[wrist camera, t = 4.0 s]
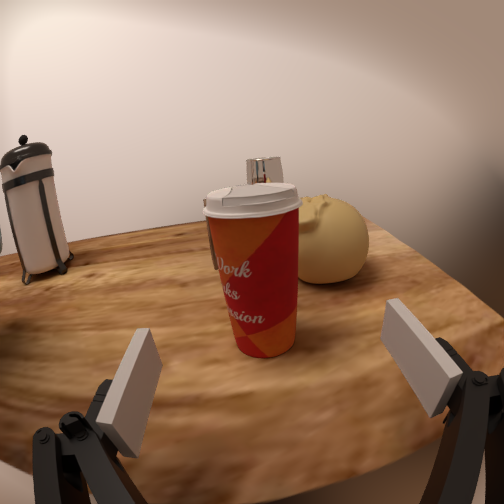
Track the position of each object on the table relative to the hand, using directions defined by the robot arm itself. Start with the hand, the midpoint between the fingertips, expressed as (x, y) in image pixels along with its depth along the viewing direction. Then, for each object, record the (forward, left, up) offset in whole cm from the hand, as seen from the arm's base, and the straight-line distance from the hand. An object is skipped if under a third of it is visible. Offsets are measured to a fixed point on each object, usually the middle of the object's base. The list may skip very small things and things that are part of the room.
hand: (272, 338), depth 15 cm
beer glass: (+4, +44, -8) cm, 44 cm away
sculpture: (+9, +22, -8) cm, 25 cm away
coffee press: (-45, +36, -8) cm, 58 cm away
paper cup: (0, +10, -8) cm, 12 cm away
